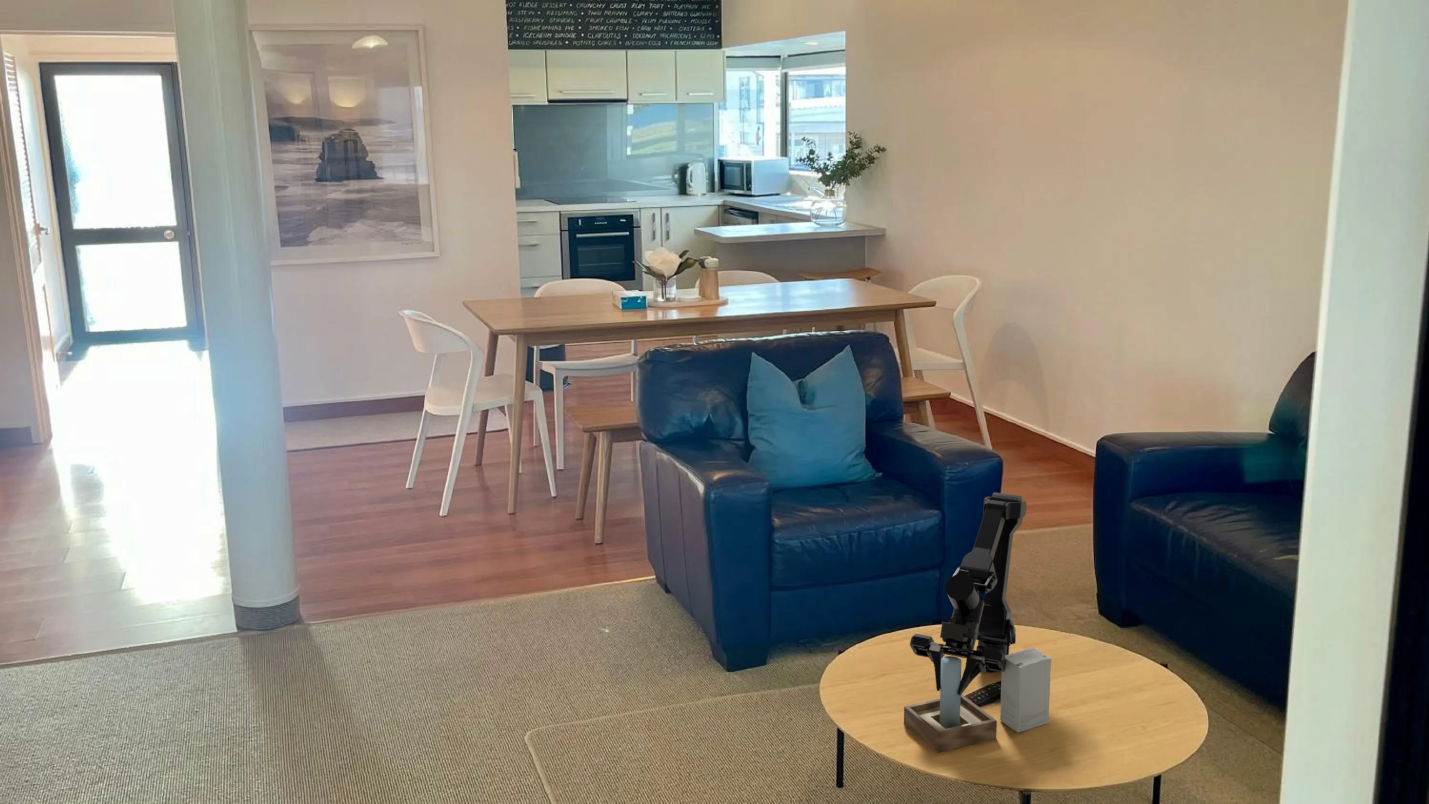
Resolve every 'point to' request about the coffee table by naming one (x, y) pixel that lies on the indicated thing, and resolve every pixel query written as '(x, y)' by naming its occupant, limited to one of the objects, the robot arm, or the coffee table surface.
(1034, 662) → the skincare box
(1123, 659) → the coffee table surface
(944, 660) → the peg
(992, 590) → the robot arm
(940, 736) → the bore box
